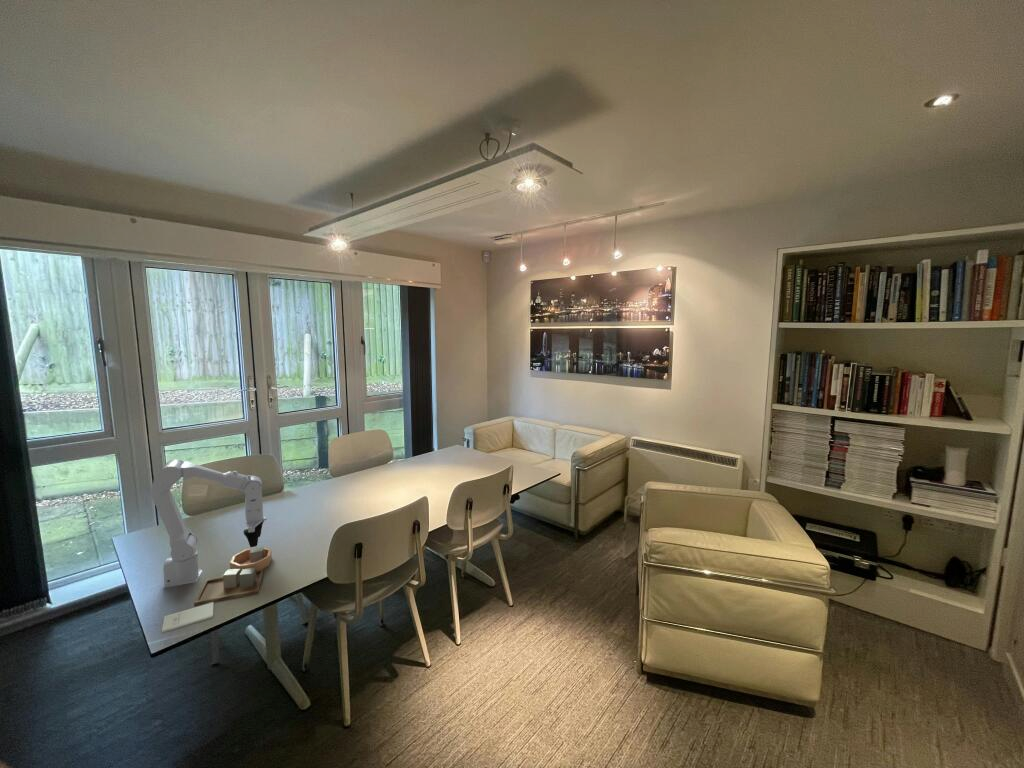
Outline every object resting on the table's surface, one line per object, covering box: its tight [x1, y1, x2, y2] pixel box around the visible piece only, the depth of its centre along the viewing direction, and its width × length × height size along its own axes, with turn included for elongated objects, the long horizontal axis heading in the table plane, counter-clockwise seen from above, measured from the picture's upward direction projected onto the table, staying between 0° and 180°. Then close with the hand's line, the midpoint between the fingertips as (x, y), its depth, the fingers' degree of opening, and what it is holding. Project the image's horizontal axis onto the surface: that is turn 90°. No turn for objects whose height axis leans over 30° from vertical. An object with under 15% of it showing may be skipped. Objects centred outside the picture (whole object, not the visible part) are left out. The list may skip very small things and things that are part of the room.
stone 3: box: [250, 546, 265, 563], centre depth 158 cm, size 4×4×5 cm
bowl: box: [229, 547, 273, 573], centre depth 156 cm, size 13×13×4 cm
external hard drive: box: [161, 601, 215, 634], centre depth 127 cm, size 2×8×12 cm
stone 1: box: [222, 568, 240, 588], centre depth 143 cm, size 4×4×5 cm
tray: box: [193, 569, 265, 606], centre depth 142 cm, size 18×14×1 cm
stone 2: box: [239, 568, 256, 588], centre depth 144 cm, size 4×4×5 cm
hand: (255, 541), depth 156 cm, fingers open, 7 cm apart
